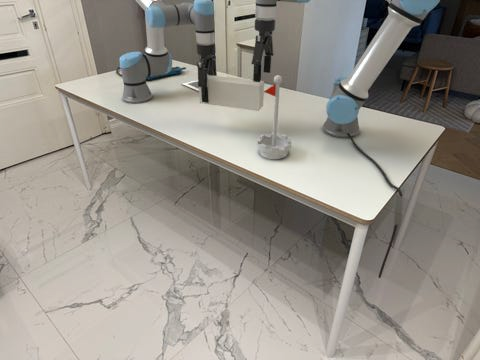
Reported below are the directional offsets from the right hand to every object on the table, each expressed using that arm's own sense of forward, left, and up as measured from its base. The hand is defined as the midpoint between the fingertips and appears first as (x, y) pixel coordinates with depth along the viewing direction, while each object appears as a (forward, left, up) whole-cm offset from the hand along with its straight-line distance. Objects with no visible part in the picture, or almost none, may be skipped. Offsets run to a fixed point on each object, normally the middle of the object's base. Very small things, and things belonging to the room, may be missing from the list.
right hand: (262, 76), depth 136 cm
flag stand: (-19, +4, -24) cm, 31 cm away
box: (+8, +10, -13) cm, 18 cm away
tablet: (+67, -3, -24) cm, 71 cm away
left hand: (+16, +18, -12) cm, 26 cm away
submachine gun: (+108, +18, -24) cm, 112 cm away
